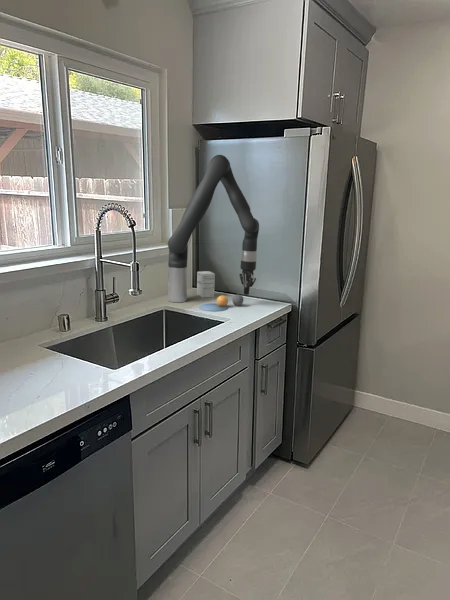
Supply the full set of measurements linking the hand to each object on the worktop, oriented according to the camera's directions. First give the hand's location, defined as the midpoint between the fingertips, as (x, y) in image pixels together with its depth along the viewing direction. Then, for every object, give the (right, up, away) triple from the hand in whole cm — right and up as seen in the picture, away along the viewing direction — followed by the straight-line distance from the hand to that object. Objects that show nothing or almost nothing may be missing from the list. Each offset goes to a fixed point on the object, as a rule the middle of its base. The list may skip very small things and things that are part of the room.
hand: (246, 294), depth 228 cm
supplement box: (-21, -1, +16) cm, 26 cm away
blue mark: (-16, -6, -7) cm, 19 cm away
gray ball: (-4, -3, -3) cm, 6 cm away
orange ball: (-12, -3, -5) cm, 13 cm away
